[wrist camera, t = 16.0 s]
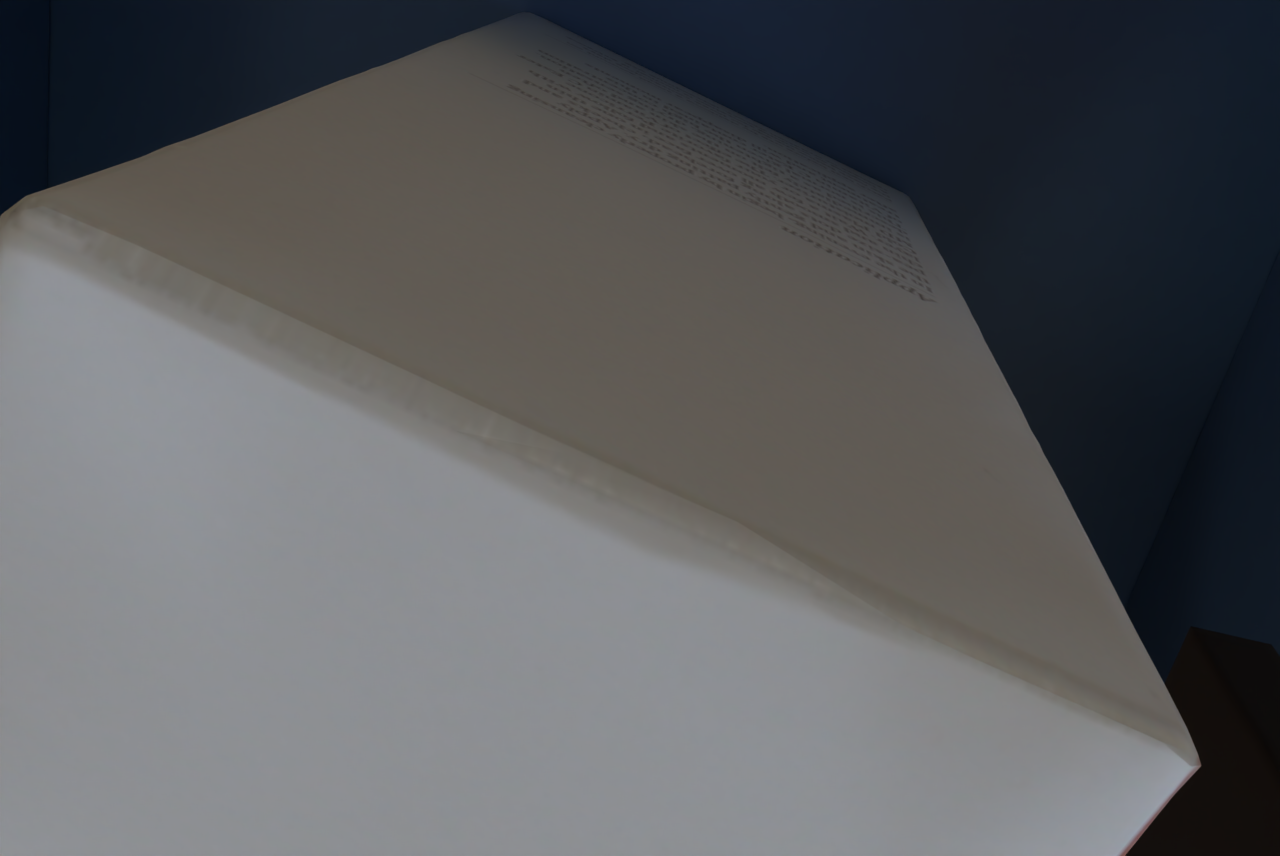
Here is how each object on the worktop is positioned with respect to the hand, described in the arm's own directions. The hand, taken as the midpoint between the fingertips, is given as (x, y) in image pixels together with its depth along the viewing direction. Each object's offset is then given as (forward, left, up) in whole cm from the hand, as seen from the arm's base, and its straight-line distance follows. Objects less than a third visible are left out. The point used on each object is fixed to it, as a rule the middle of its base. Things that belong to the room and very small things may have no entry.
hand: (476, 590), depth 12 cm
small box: (0, 0, -8) cm, 8 cm away
